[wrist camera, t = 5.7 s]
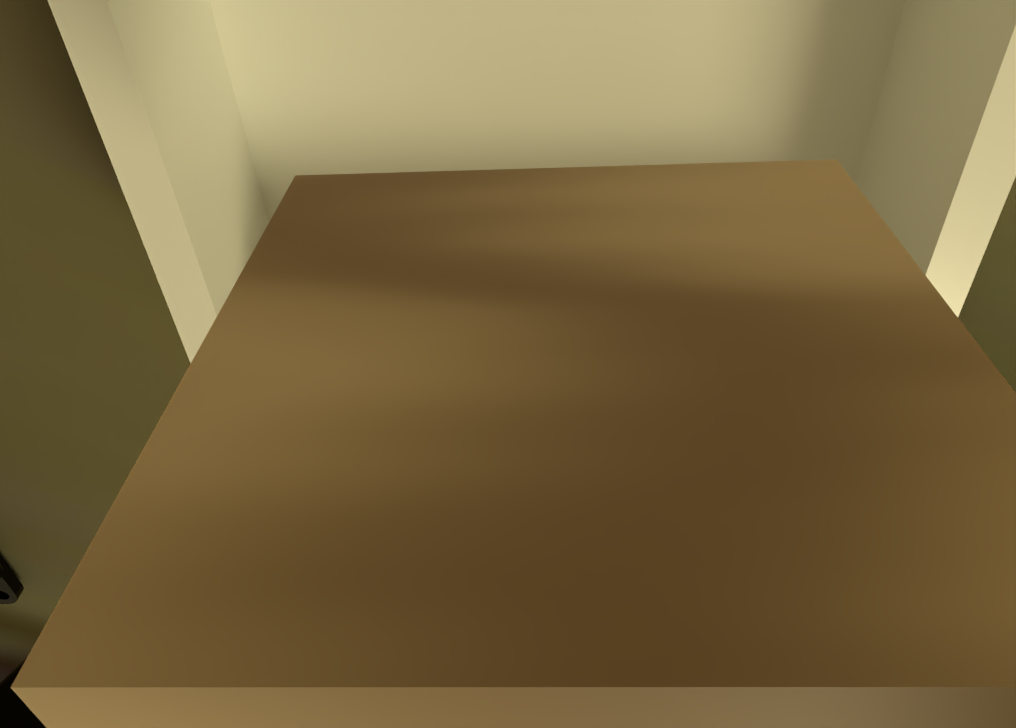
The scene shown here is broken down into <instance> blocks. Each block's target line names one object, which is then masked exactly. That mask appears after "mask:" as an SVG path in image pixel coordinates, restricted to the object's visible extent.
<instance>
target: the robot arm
mask: <svg viewBox="0 0 1016 728" xmlns="http://www.w3.org/2000/svg"><path fill="white" fill-rule="evenodd" d="M23 589H24V588H23V585H22V584H21V582H20V581H19V580H18V578H17V577H16V576H15V574H14V573H13V572H12V570H11V569H10V568H9V566H8V565H7V564H6V563H5V561H4V560H3V559H2V557H1V556H0V604H11V603H14V602H16V601H17V600H18V598H19V596H20V595H21V593H22V591H23ZM26 659H27V658H26ZM26 659H25V660H24V661H23V662H22V663H21V664H20V665H19V666H18V667H16V668H15V669H14V670H13V671H12V672H11V673H10V674H9V675H8V676H7V677H6V678H5V679H4V680H3V681H2V682H0V728H46V727H45V726H44V724H43V723H42V722H41V721H40V720H39V719H38V718H37V717H36V715H35V714H34V713H33V712H32V711H31V710H30V709H29V708H28V707H27V705H26V704H25V703H24V702H23V701H22V700H21V699H20V698H19V696H18V695H17V694H16V693H15V692H14V691H13V690H12V689H11V686H12V684H13V682H14V680H15V679H16V677H17V675H18V673H19V671H20V670H21V668H22V666H23V664H24V662H25V661H26Z"/></svg>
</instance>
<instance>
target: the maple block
mask: <svg viewBox="0 0 1016 728" xmlns="http://www.w3.org/2000/svg"><path fill="white" fill-rule="evenodd" d="M11 689H12V690H13V691H14V692H15V693H16V694H17V695H18V696H19V698H20V699H21V700H22V701H23V702H24V703H25V704H26V705H27V707H28V708H29V709H30V710H31V711H32V712H33V713H34V714H35V715H36V717H37V718H38V719H39V720H40V721H41V722H42V723H43V724H44V726H45V727H46V728H1016V393H1015V392H1014V390H1013V389H1012V388H1011V387H1010V385H1009V384H1008V383H1007V381H1006V380H1005V379H1004V377H1003V376H1002V375H1001V373H1000V372H999V371H998V370H997V368H996V367H995V366H994V364H993V363H992V362H991V360H990V359H989V358H988V356H987V355H986V354H985V353H984V351H983V350H982V349H981V347H980V346H979V345H978V343H977V342H976V341H975V339H974V338H973V337H972V336H971V334H970V333H969V332H968V330H967V329H966V328H965V326H964V325H963V324H962V322H961V321H960V320H959V319H958V317H957V316H956V315H955V313H954V312H953V311H952V309H951V308H950V307H949V305H948V304H947V303H946V302H945V300H944V299H943V298H942V296H941V295H940V294H939V292H938V291H937V290H936V288H935V287H934V286H933V285H932V283H931V282H930V281H929V279H928V278H927V277H926V275H925V274H924V273H923V271H922V270H921V269H920V268H919V266H918V265H917V264H916V262H915V261H914V260H913V258H912V257H911V256H910V254H909V253H908V252H907V251H906V249H905V248H904V247H903V245H902V244H901V243H900V241H899V240H898V239H897V237H896V236H895V235H894V234H893V232H892V231H891V230H890V228H889V227H888V226H887V224H886V223H885V222H884V220H883V219H882V218H881V217H880V215H879V214H878V213H877V211H876V210H875V209H874V207H873V206H872V205H871V203H870V202H869V201H868V200H867V198H866V197H865V196H864V194H863V193H862V192H861V190H860V189H859V188H858V186H857V185H856V184H855V183H854V181H853V180H852V179H851V177H850V176H849V175H848V173H847V172H846V171H845V169H844V168H843V167H842V166H841V164H840V163H839V162H838V160H837V159H834V160H800V161H767V162H733V163H699V164H665V165H632V166H598V167H564V168H530V169H497V170H463V171H429V172H395V173H362V174H328V175H295V177H294V179H293V180H292V182H291V184H290V186H289V188H288V189H287V191H286V193H285V195H284V197H283V198H282V200H281V202H280V204H279V206H278V207H277V209H276V211H275V213H274V215H273V216H272V218H271V220H270V222H269V224H268V225H267V227H266V229H265V231H264V233H263V234H262V236H261V238H260V240H259V242H258V243H257V245H256V247H255V249H254V251H253V252H252V254H251V256H250V258H249V260H248V261H247V263H246V265H245V267H244V269H243V270H242V272H241V274H240V276H239V278H238V279H237V281H236V283H235V285H234V287H233V288H232V290H231V292H230V294H229V296H228V297H227V299H226V301H225V303H224V305H223V306H222V308H221V310H220V312H219V314H218V315H217V317H216V319H215V321H214V323H213V324H212V326H211V328H210V330H209V332H208V333H207V335H206V337H205V339H204V341H203V342H202V344H201V346H200V348H199V350H198V351H197V353H196V355H195V357H194V359H193V360H192V362H191V364H190V366H189V367H188V369H187V371H186V373H185V375H184V376H183V378H182V380H181V382H180V384H179V385H178V387H177V389H176V391H175V393H174V394H173V396H172V398H171V400H170V402H169V403H168V405H167V407H166V409H165V411H164V412H163V414H162V416H161V418H160V420H159V421H158V423H157V425H156V427H155V429H154V430H153V432H152V434H151V436H150V438H149V439H148V441H147V443H146V445H145V447H144V448H143V450H142V452H141V454H140V456H139V457H138V459H137V461H136V463H135V465H134V466H133V468H132V470H131V472H130V474H129V475H128V477H127V479H126V481H125V483H124V484H123V486H122V488H121V490H120V492H119V493H118V495H117V497H116V499H115V501H114V502H113V504H112V506H111V508H110V510H109V511H108V513H107V515H106V517H105V519H104V520H103V522H102V524H101V526H100V528H99V529H98V531H97V533H96V535H95V537H94V538H93V540H92V542H91V544H90V546H89V547H88V549H87V551H86V553H85V555H84V556H83V558H82V560H81V562H80V564H79V565H78V567H77V569H76V571H75V573H74V574H73V576H72V578H71V580H70V582H69V583H68V585H67V587H66V589H65V590H64V592H63V594H62V596H61V598H60V599H59V601H58V603H57V605H56V607H55V608H54V610H53V612H52V614H51V616H50V617H49V619H48V621H47V623H46V625H45V626H44V628H43V630H42V632H41V634H40V635H39V637H38V639H37V641H36V643H35V644H34V646H33V648H32V650H31V652H30V653H29V655H28V657H27V659H26V661H25V662H24V664H23V666H22V668H21V670H20V671H19V673H18V675H17V677H16V679H15V680H14V682H13V684H12V686H11Z"/></svg>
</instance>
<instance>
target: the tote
mask: <svg viewBox="0 0 1016 728" xmlns="http://www.w3.org/2000/svg"><path fill="white" fill-rule="evenodd" d="M48 3H49V5H50V8H51V10H52V13H53V16H54V18H55V21H56V23H57V26H58V28H59V31H60V33H61V36H62V38H63V41H64V43H65V46H66V49H67V51H68V54H69V56H70V59H71V61H72V64H73V66H74V69H75V71H76V74H77V76H78V79H79V81H80V84H81V87H82V89H83V92H84V94H85V97H86V99H87V102H88V104H89V107H90V109H91V112H92V114H93V117H94V120H95V122H96V125H97V127H98V130H99V132H100V135H101V137H102V140H103V142H104V145H105V147H106V150H107V152H108V155H109V158H110V160H111V163H112V165H113V168H114V170H115V173H116V175H117V178H118V180H119V183H120V185H121V188H122V191H123V193H124V196H125V198H126V201H127V203H128V206H129V208H130V211H131V213H132V216H133V218H134V221H135V223H136V226H137V229H138V231H139V234H140V236H141V239H142V241H143V244H144V246H145V249H146V251H147V254H148V256H149V259H150V262H151V264H152V267H153V269H154V272H155V274H156V277H157V279H158V282H159V284H160V287H161V289H162V292H163V294H164V297H165V300H166V302H167V305H168V307H169V310H170V312H171V315H172V317H173V320H174V322H175V325H176V327H177V330H178V333H179V335H180V338H181V340H182V343H183V345H184V348H185V350H186V353H187V355H188V358H189V360H190V363H191V362H192V360H193V359H194V357H195V355H196V353H197V351H198V350H199V348H200V346H201V344H202V342H203V341H204V339H205V337H206V335H207V333H208V332H209V330H210V328H211V326H212V324H213V323H214V321H215V319H216V317H217V315H218V314H219V312H220V310H221V308H222V306H223V305H224V303H225V301H226V299H227V297H228V296H229V294H230V292H231V290H232V288H233V287H234V285H235V283H236V281H237V279H238V278H239V276H240V274H241V272H242V270H243V269H244V267H245V265H246V263H247V261H248V260H249V258H250V256H251V254H252V252H253V251H254V249H255V247H256V245H257V243H258V242H259V240H260V238H261V236H262V234H263V233H264V231H265V229H266V227H267V225H268V224H269V222H270V220H271V218H272V216H273V215H274V213H275V211H276V209H277V207H278V206H279V204H280V202H281V200H282V198H283V197H284V195H285V193H286V191H287V189H288V188H289V186H290V184H291V182H292V180H293V179H294V177H295V175H328V174H362V173H395V172H429V171H463V170H497V169H530V168H564V167H598V166H632V165H665V164H699V163H733V162H767V161H800V160H834V159H837V160H838V162H839V163H840V164H841V166H842V167H843V168H844V169H845V171H846V172H847V173H848V175H849V176H850V177H851V179H852V180H853V181H854V183H855V184H856V185H857V186H858V188H859V189H860V190H861V192H862V193H863V194H864V196H865V197H866V198H867V200H868V201H869V202H870V203H871V205H872V206H873V207H874V209H875V210H876V211H877V213H878V214H879V215H880V217H881V218H882V219H883V220H884V222H885V223H886V224H887V226H888V227H889V228H890V230H891V231H892V232H893V234H894V235H895V236H896V237H897V239H898V240H899V241H900V243H901V244H902V245H903V247H904V248H905V249H906V251H907V252H908V253H909V254H910V256H911V257H912V258H913V260H914V261H915V262H916V264H917V265H918V266H919V268H920V269H921V270H922V271H923V273H924V274H925V275H926V277H927V278H928V279H929V281H930V282H931V283H932V285H933V286H934V287H935V288H936V290H937V291H938V292H939V294H940V295H941V296H942V298H943V299H944V300H945V302H946V303H947V304H948V305H949V307H950V308H951V309H952V311H953V312H954V313H955V315H956V316H957V317H958V316H959V313H960V311H961V309H962V306H963V304H964V301H965V299H966V296H967V294H968V291H969V289H970V287H971V284H972V282H973V279H974V277H975V274H976V272H977V269H978V267H979V264H980V262H981V260H982V257H983V255H984V252H985V250H986V247H987V245H988V242H989V240H990V238H991V235H992V233H993V230H994V228H995V225H996V223H997V220H998V218H999V216H1000V213H1001V211H1002V208H1003V206H1004V203H1005V201H1006V198H1007V196H1008V194H1009V191H1010V189H1011V186H1012V184H1013V181H1014V179H1015V176H1016V0H48Z"/></svg>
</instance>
